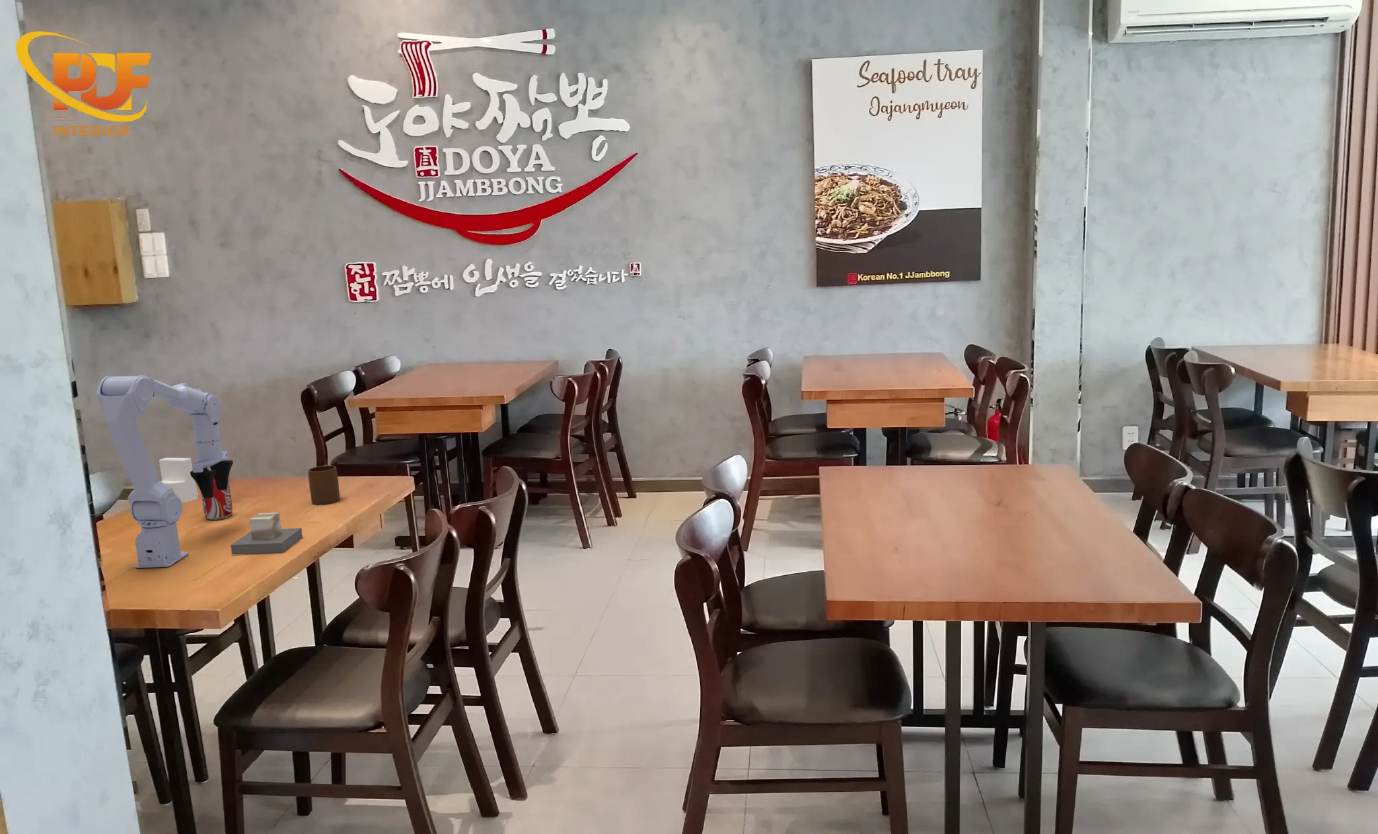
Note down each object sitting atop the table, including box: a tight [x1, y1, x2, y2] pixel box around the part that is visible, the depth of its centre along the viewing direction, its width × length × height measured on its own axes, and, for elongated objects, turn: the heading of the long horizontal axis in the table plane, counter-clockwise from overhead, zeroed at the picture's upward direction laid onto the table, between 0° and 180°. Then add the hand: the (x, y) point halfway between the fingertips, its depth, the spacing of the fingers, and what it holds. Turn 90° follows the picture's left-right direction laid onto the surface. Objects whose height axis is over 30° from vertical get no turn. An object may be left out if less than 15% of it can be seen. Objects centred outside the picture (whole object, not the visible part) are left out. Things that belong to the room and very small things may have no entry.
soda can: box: [200, 478, 233, 521], centre depth 273 cm, size 7×7×12 cm
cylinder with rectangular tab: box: [158, 457, 199, 503], centre depth 295 cm, size 9×9×12 cm
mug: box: [307, 463, 341, 505], centre depth 287 cm, size 12×8×9 cm, turn 11°
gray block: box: [249, 512, 283, 540], centre depth 246 cm, size 5×5×5 cm
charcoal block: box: [230, 527, 303, 555], centre depth 246 cm, size 12×12×3 cm
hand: (215, 493), depth 257 cm, fingers open, 7 cm apart
